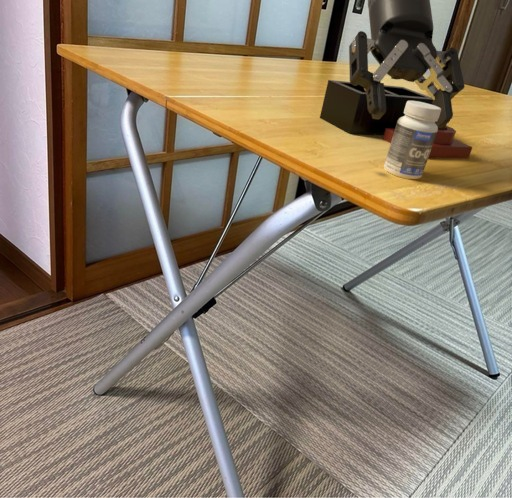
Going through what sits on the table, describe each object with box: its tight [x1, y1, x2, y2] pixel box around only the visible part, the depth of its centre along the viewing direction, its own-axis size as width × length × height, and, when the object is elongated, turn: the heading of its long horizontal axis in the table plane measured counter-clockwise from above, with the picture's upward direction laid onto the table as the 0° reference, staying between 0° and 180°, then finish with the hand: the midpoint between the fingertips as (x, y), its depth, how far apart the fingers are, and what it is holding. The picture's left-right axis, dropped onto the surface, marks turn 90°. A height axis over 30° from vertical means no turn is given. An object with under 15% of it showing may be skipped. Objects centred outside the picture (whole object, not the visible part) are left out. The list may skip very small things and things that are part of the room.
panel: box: [382, 125, 473, 159], centre depth 75 cm, size 10×8×4 cm
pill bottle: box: [383, 101, 441, 180], centre depth 61 cm, size 5×5×8 cm
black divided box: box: [319, 79, 434, 137], centre depth 81 cm, size 16×8×6 cm, turn 117°
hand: (412, 120), depth 61 cm, fingers open, 8 cm apart
